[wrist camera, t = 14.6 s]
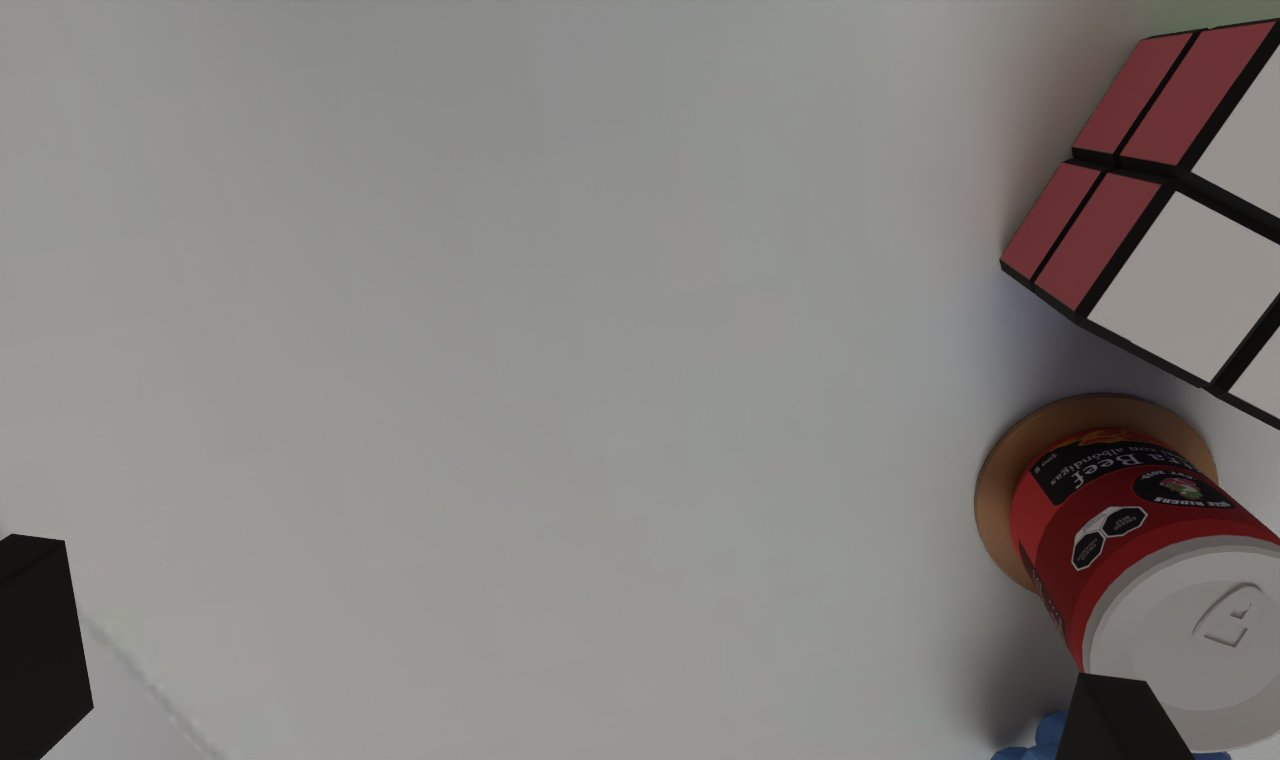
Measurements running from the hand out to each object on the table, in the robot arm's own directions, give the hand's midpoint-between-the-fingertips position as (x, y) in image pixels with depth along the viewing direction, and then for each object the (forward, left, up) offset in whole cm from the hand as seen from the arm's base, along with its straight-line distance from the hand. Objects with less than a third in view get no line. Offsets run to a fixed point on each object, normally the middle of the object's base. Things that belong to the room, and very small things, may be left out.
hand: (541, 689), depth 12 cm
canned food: (+8, +19, -29) cm, 35 cm away
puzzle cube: (-5, +19, -29) cm, 35 cm away
